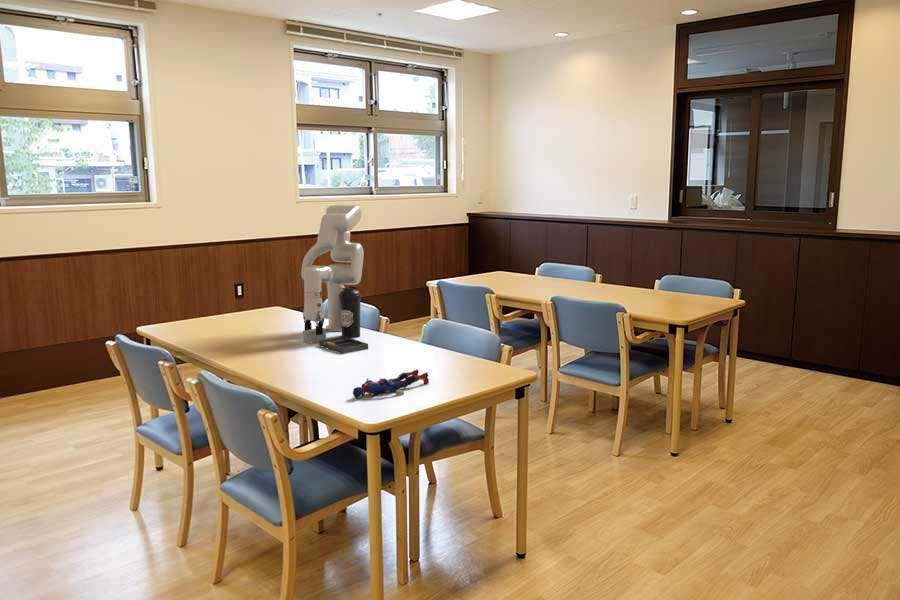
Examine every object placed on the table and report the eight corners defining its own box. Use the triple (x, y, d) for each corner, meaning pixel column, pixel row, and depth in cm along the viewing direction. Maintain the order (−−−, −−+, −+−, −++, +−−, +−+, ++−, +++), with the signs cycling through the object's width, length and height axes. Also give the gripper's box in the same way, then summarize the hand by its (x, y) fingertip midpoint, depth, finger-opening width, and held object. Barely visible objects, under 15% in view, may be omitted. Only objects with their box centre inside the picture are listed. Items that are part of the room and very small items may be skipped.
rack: (344, 341, 311) (343, 334, 311) (368, 348, 297) (368, 342, 297) (318, 345, 303) (318, 339, 302) (342, 353, 289) (342, 347, 288)
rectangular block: (322, 339, 316) (321, 327, 315) (326, 340, 313) (325, 328, 312) (303, 342, 309) (303, 330, 308) (307, 343, 307) (307, 331, 306)
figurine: (409, 378, 255) (341, 395, 235) (409, 363, 254) (340, 379, 234) (435, 387, 244) (366, 405, 224) (435, 371, 243) (366, 388, 223)
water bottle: (335, 337, 319) (334, 288, 315) (347, 332, 328) (345, 285, 324) (355, 339, 315) (353, 289, 311) (366, 334, 324) (364, 286, 320)
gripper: (330, 296, 303) (331, 334, 306) (310, 292, 316) (311, 329, 318) (315, 298, 298) (316, 336, 301) (295, 293, 311) (296, 331, 314)
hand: (313, 333), depth 310 cm, fingers open, 9 cm apart
